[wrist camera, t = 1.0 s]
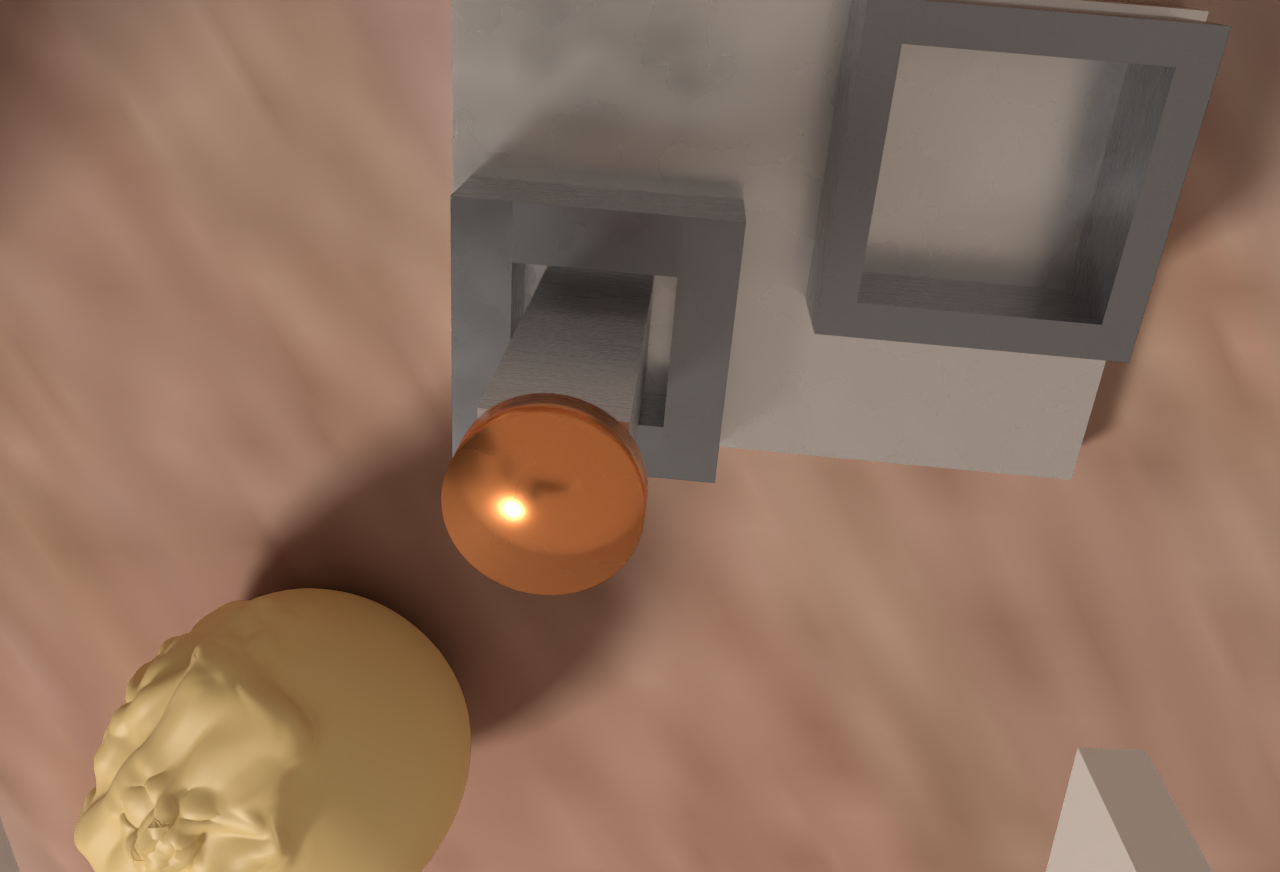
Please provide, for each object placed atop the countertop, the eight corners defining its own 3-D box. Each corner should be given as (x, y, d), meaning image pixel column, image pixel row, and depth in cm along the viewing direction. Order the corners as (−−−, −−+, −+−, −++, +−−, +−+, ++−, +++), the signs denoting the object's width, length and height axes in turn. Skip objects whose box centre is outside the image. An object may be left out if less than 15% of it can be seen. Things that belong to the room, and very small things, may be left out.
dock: (464, 402, 35) (432, 464, 31) (463, -53, 29) (423, -51, 25) (1057, 458, 35) (1102, 528, 30) (1185, 7, 28) (1264, 19, 24)
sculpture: (275, 483, 37) (120, 678, 27) (546, 659, 40) (493, 893, 30) (138, 677, 41) (-37, 904, 32) (391, 824, 44) (300, 1075, 34)
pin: (529, 374, 33) (442, 584, 22) (532, 245, 31) (439, 408, 20) (661, 387, 33) (636, 604, 22) (672, 258, 31) (652, 427, 20)
